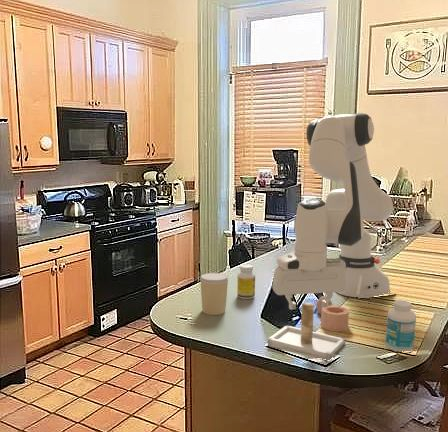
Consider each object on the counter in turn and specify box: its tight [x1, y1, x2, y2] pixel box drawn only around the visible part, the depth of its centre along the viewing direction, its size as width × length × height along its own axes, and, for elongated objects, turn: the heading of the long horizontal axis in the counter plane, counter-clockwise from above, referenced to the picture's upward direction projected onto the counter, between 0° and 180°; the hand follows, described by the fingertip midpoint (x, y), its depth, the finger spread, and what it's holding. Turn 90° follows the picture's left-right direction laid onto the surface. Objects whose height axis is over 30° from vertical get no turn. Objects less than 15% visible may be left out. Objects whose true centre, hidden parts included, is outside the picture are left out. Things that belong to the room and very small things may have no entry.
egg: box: [315, 295, 333, 316], centre depth 163 cm, size 5×5×7 cm
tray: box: [267, 324, 346, 360], centre depth 140 cm, size 18×12×2 cm, turn 57°
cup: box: [320, 304, 350, 332], centre depth 153 cm, size 8×8×6 cm
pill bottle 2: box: [385, 299, 417, 352], centre depth 138 cm, size 8×7×14 cm
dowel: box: [300, 302, 315, 344], centre depth 139 cm, size 3×3×11 cm
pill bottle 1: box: [236, 264, 256, 300], centre depth 182 cm, size 6×6×12 cm
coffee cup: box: [199, 272, 229, 316], centre depth 166 cm, size 9×9×12 cm
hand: (308, 307), depth 138 cm, fingers open, 8 cm apart
